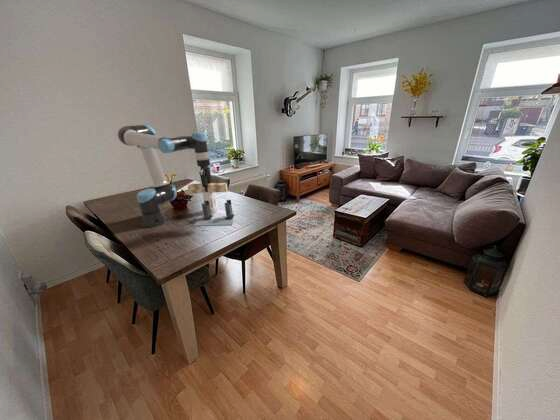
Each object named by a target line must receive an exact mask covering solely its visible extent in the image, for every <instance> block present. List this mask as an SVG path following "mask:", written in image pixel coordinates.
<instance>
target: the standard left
mask: <svg viewBox="0 0 560 420" xmlns="http://www.w3.org/2000/svg"><path fill="white" fill-rule="evenodd" d="M204 202H205V203H204ZM204 202H203V203H201V208H202V214H203V218H202V221H211V220H212V218H213V216H214V214H211V210H210V205H209V201H204Z"/></svg>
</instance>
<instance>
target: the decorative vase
mask: <svg viewBox="0 0 560 420" xmlns="http://www.w3.org/2000/svg"><path fill="white" fill-rule="evenodd" d="M211 183H213V182H211ZM202 197H203V203H205V202H204V201H209V205H210V210H211V215H215V214H217V213H218V212H219V209H220V208H219V205H218V202H217V197H216V192H215V193H212V194H210V197H206V195H205V193H202Z"/></svg>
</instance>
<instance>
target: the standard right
mask: <svg viewBox="0 0 560 420" xmlns="http://www.w3.org/2000/svg"><path fill="white" fill-rule="evenodd" d="M232 206H233V205H232V199H226V202H224V209H225V218H224V220H234V217H235V214H233V207H232Z"/></svg>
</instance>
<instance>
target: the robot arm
mask: <svg viewBox="0 0 560 420" xmlns="http://www.w3.org/2000/svg"><path fill="white" fill-rule="evenodd" d="M117 138H118V140H119V141H120V142H121V143H122V144H124V145H125V146H130V147H135V146H136V147H137V149H139V150H140V151H141V153H142V156H143V159H144V161H145V164H146V166H147V169H148V171H149V174H150V177H151V180H152V182H153V185H152V188H146V189H143V190H141V191H139V192H138V193H137V194H136V201H137V203H138V206H139V209H140V212H141V226H142V227H144V228H153V227H158V226H161V225H163V224H164V223H166V222H167V218H166V216H165V215H164V214H165V213H163V212H162V210H161V206H162V205H165V204H167V203H170V202H172V201H174V200H175V199H176V198H177V195H178V193H177V192H178V191H177V188H176V186H175V185H173V184H171V182H170V181H168V180H167V178H166V175H165V172H164V170H163V167H162V164H161V161H160V158H159V156H158V152H157V150H159V151H160V152H161V153H163V154H171V153H175V152H179V151H186V150H194V154H195V155H194V156H195V159H196V165H197V167H200V171H199V172H198V173H199V177H200V182H201V184H202V187H204V189H205V195H206V197H210V194H212V193H210V191H209V187H208V183H211V182H212V175H211V167H209V166H210V165H211V161H210V153H209V150H208V143H207V137H206V133H205V132H202V131H199V132H198V131H196V132H192V133H191V135H179V136H175V137H164V136H160V135H159V136H158V134H157V131H156V130H155V129H154V128H153V127H152V126H151V125H148V124H138V125H125V126H122V127H120V128H119V129H118V131H117ZM212 183H213V182H212Z"/></svg>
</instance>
